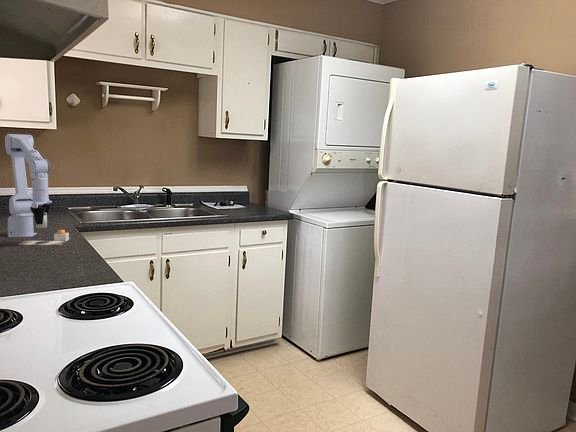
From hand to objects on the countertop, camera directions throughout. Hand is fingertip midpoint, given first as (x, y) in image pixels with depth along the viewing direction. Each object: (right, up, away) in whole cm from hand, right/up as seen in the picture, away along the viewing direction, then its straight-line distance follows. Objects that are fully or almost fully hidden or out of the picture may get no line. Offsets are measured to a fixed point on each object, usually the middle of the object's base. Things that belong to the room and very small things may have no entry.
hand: (41, 223), depth 195 cm
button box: (+4, -7, +9) cm, 12 cm away
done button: (+4, -6, +8) cm, 11 cm away
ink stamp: (0, -2, 0) cm, 2 cm away
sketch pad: (0, -8, +1) cm, 8 cm away
